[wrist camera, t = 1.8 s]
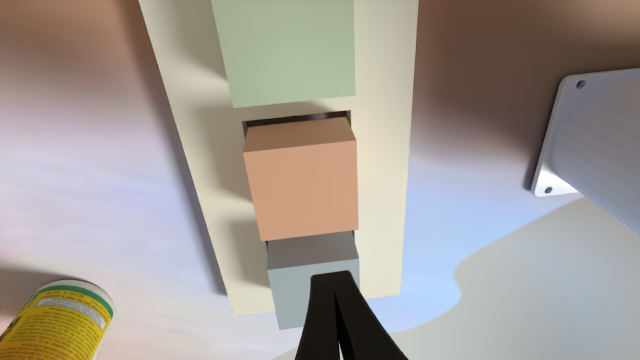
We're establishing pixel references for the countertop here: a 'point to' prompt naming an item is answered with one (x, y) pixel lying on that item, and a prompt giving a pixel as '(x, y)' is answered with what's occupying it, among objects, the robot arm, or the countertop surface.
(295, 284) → the slate button
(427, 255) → the countertop surface
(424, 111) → the countertop surface
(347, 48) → the sage button
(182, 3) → the panel
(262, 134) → the terracotta button
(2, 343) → the supplement bottle
